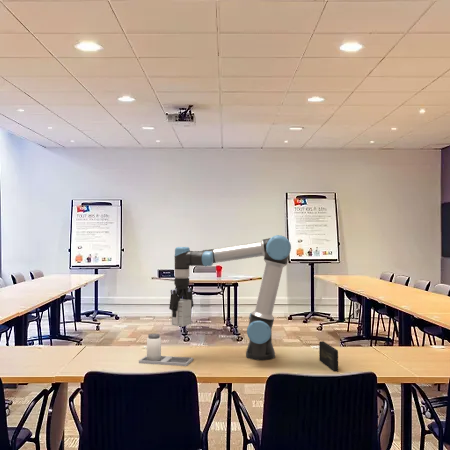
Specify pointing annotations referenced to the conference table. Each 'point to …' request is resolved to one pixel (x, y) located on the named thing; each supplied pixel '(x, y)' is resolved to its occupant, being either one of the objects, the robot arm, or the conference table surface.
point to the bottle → (154, 347)
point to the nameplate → (328, 355)
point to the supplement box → (183, 313)
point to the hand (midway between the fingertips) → (181, 322)
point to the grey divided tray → (169, 361)
